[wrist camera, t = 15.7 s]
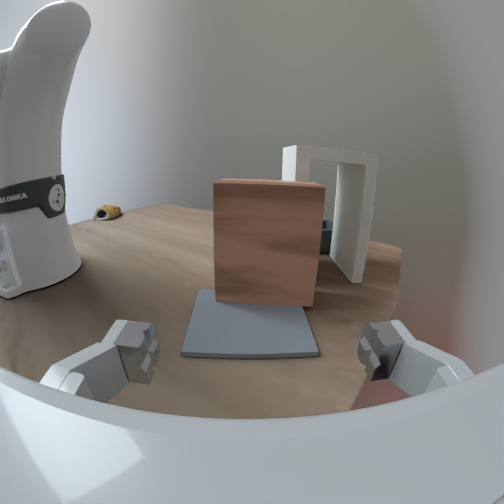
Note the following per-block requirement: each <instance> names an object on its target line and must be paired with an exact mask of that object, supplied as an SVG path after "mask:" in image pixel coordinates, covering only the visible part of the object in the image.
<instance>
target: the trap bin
mask: <svg viewBox="0 0 504 504" xmlns="http://www.w3.org/2000/svg"><path fill="white" fill-rule="evenodd" d="M332 231H333V222H332V221H331V220H323V223H322V233H321V243H320V252H319V254H330V248H331V240H332Z"/></svg>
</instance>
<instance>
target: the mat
mask: <svg viewBox="0 0 504 504" xmlns="http://www.w3.org/2000/svg"><path fill="white" fill-rule="evenodd" d="M318 353H319V350H318V348H317V345H316V342H315V339H314V337H313V334H312V331H311V329H310V326H309V323H308V320H307V318H306V315H305V312H304V310H303V307H302V306H285V305H264V304H246V303H231V302H218V301H216V299H215V289H199V290H198V294H197V297H196V300H195V304H194V307H193V311H192V314H191V318H190V321H189V325H188V328H187V332H186V335H185V339H184V342H183V346H182V350H181V354H182V356H188V357H207V358H291V357H310V356H318Z"/></svg>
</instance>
